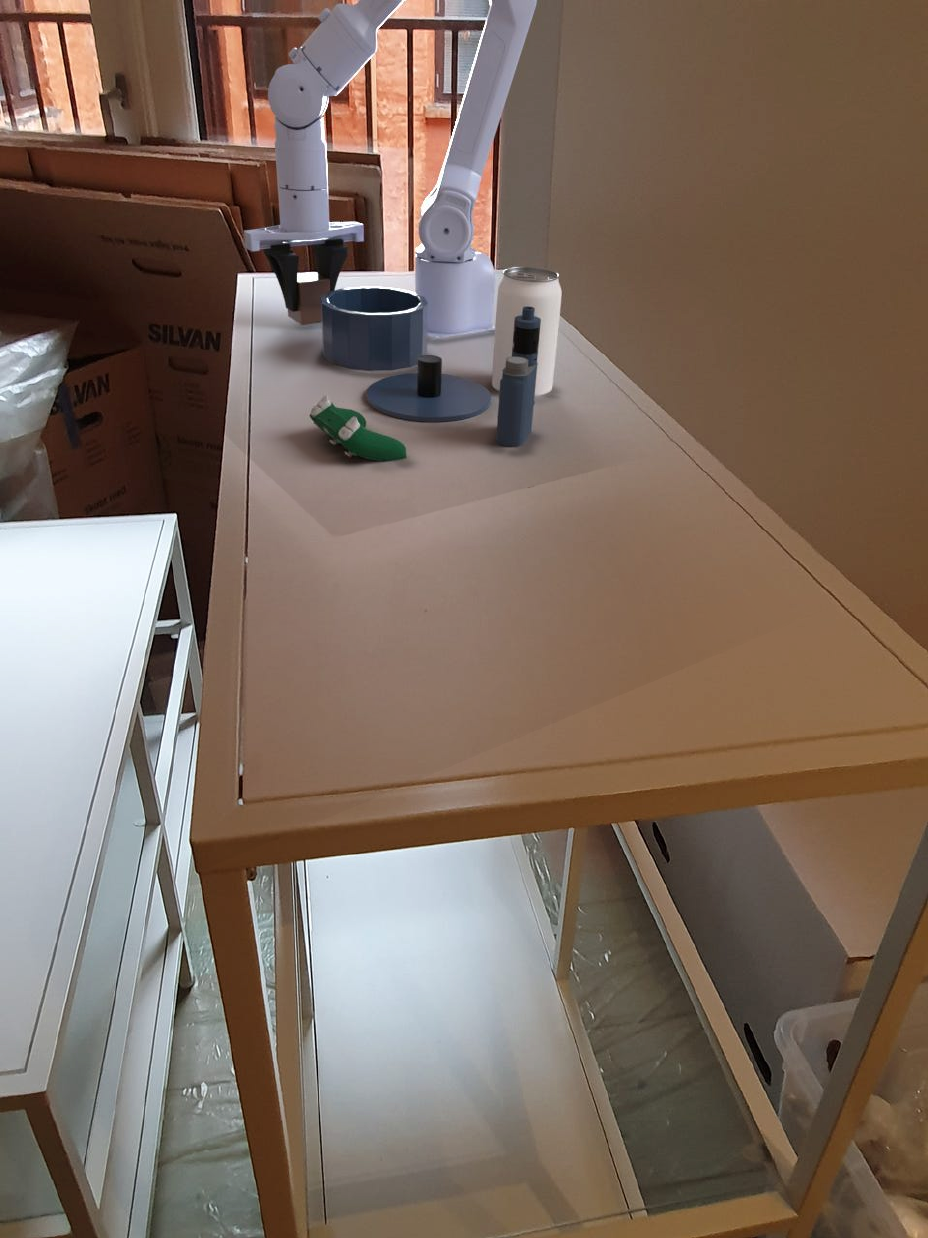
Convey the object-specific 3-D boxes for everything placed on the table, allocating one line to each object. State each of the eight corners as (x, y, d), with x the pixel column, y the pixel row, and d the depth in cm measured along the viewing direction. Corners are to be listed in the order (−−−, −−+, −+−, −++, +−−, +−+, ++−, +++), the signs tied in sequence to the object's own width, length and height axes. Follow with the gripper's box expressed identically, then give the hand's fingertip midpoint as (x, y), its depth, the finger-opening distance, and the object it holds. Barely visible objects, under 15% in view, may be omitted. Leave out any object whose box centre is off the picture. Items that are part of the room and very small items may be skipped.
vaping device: (534, 434, 87) (546, 306, 81) (519, 454, 83) (530, 321, 76) (508, 429, 88) (518, 302, 81) (492, 449, 84) (501, 317, 77)
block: (317, 312, 116) (315, 271, 113) (331, 321, 113) (329, 279, 110) (288, 316, 114) (285, 274, 111) (301, 325, 111) (299, 282, 108)
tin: (393, 337, 111) (394, 282, 107) (445, 366, 103) (447, 307, 99) (306, 350, 105) (303, 292, 101) (353, 381, 97) (351, 320, 94)
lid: (447, 376, 100) (449, 332, 97) (515, 414, 91) (518, 368, 89) (344, 394, 94) (343, 348, 91) (406, 436, 85) (407, 388, 83)
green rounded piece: (339, 449, 87) (295, 415, 82) (364, 417, 86) (321, 381, 82) (387, 487, 80) (342, 451, 76) (414, 452, 80) (370, 415, 76)
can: (547, 404, 94) (559, 283, 88) (486, 396, 95) (493, 277, 88) (555, 383, 99) (567, 268, 93) (496, 377, 100) (504, 262, 94)
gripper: (343, 177, 111) (346, 292, 119) (229, 184, 104) (240, 305, 112) (371, 187, 106) (373, 306, 114) (253, 194, 99) (264, 320, 107)
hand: (309, 307), depth 112 cm, fingers closed on block, 4 cm apart
